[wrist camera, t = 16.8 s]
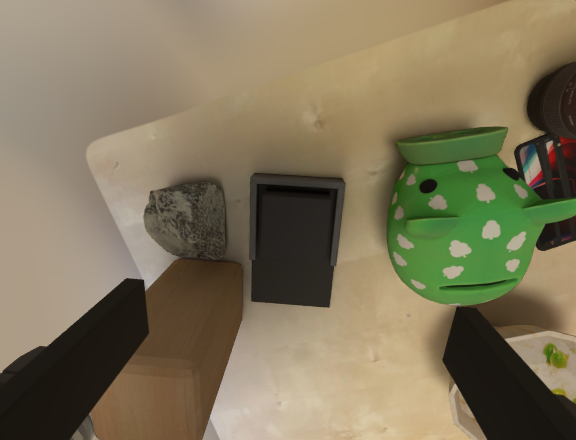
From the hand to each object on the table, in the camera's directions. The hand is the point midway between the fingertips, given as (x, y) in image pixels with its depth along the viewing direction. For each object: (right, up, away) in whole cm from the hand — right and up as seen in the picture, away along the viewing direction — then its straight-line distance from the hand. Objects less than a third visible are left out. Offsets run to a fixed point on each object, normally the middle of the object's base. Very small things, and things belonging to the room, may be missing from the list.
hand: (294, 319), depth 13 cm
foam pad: (+1, +4, +27) cm, 27 cm away
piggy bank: (+18, +6, +26) cm, 33 cm away
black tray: (+1, +1, +29) cm, 29 cm away
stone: (-12, +5, +29) cm, 32 cm away
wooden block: (-12, -6, +32) cm, 35 cm away
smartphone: (+33, +8, +25) cm, 43 cm away
